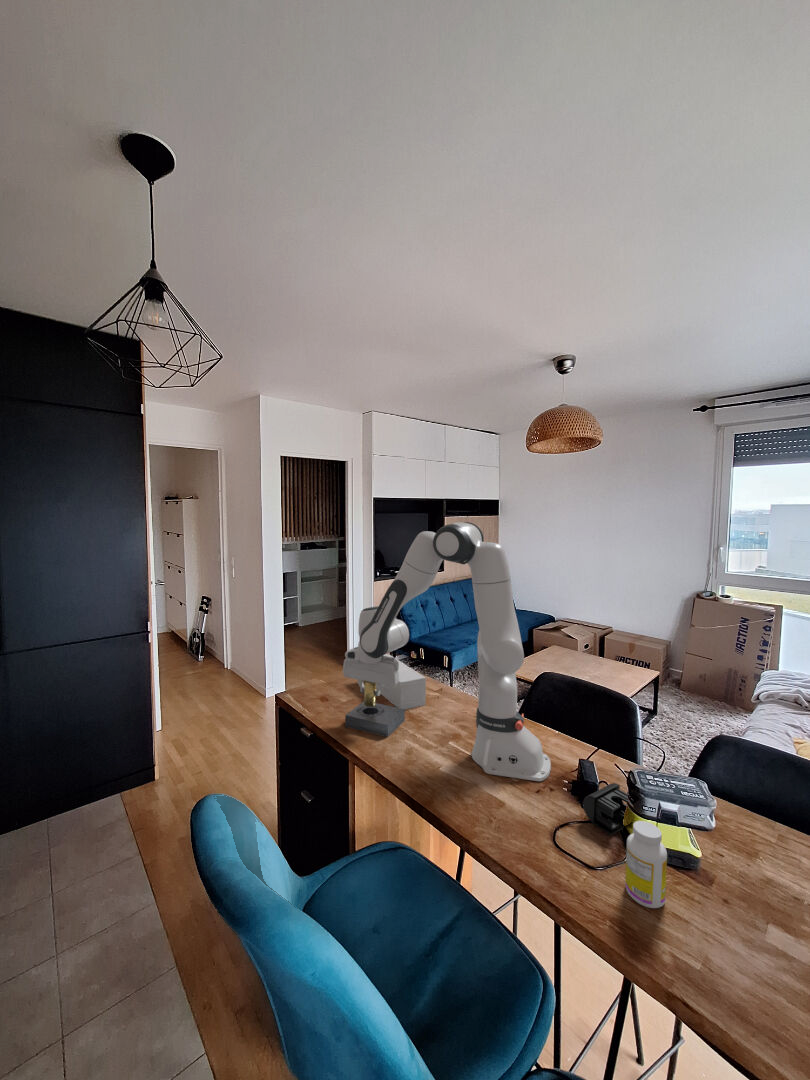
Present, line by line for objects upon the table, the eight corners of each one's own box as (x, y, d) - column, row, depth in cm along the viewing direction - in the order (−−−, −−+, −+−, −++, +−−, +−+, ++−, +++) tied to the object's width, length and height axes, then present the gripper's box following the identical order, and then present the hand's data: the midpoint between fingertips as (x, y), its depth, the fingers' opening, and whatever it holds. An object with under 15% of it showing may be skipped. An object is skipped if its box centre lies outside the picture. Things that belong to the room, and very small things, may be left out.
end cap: (606, 804, 109) (608, 778, 108) (634, 821, 103) (636, 793, 102) (581, 818, 103) (582, 790, 103) (609, 837, 97) (611, 807, 97)
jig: (404, 720, 152) (404, 709, 151) (387, 737, 140) (388, 725, 140) (364, 711, 158) (364, 700, 158) (345, 726, 146) (345, 715, 146)
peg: (377, 703, 150) (378, 680, 150) (372, 707, 147) (372, 684, 146) (367, 700, 152) (368, 678, 152) (361, 705, 148) (362, 682, 148)
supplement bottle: (651, 880, 86) (654, 816, 85) (673, 910, 79) (676, 841, 78) (618, 880, 85) (620, 817, 85) (637, 910, 79) (640, 842, 78)
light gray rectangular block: (425, 705, 165) (425, 677, 164) (400, 711, 160) (400, 682, 159) (388, 677, 193) (388, 653, 192) (365, 681, 188) (366, 657, 187)
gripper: (402, 655, 147) (401, 696, 148) (350, 647, 156) (349, 685, 156) (394, 661, 141) (393, 703, 142) (340, 652, 150) (340, 691, 151)
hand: (370, 693), depth 149 cm, fingers closed on peg, 4 cm apart
